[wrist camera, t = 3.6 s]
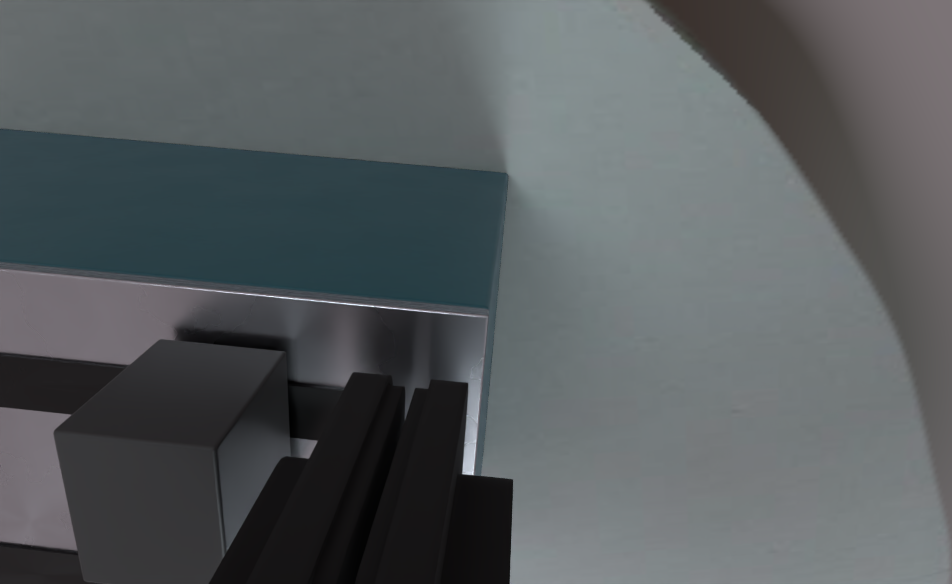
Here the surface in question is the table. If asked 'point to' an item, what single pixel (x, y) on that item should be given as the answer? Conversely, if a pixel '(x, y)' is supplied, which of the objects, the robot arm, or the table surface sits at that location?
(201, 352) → the block
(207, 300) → the toaster
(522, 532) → the table surface
